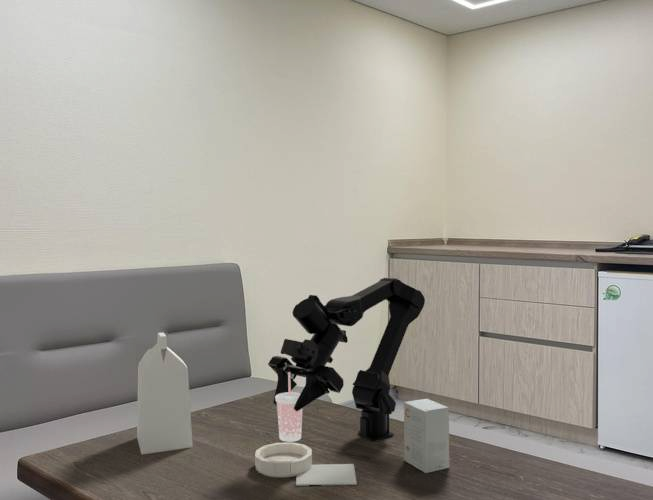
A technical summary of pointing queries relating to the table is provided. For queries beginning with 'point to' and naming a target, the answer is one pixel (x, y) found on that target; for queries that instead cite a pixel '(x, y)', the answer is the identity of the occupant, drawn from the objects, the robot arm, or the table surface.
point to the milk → (163, 400)
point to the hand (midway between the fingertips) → (284, 407)
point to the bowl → (283, 459)
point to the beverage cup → (289, 415)
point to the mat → (327, 475)
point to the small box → (426, 435)
